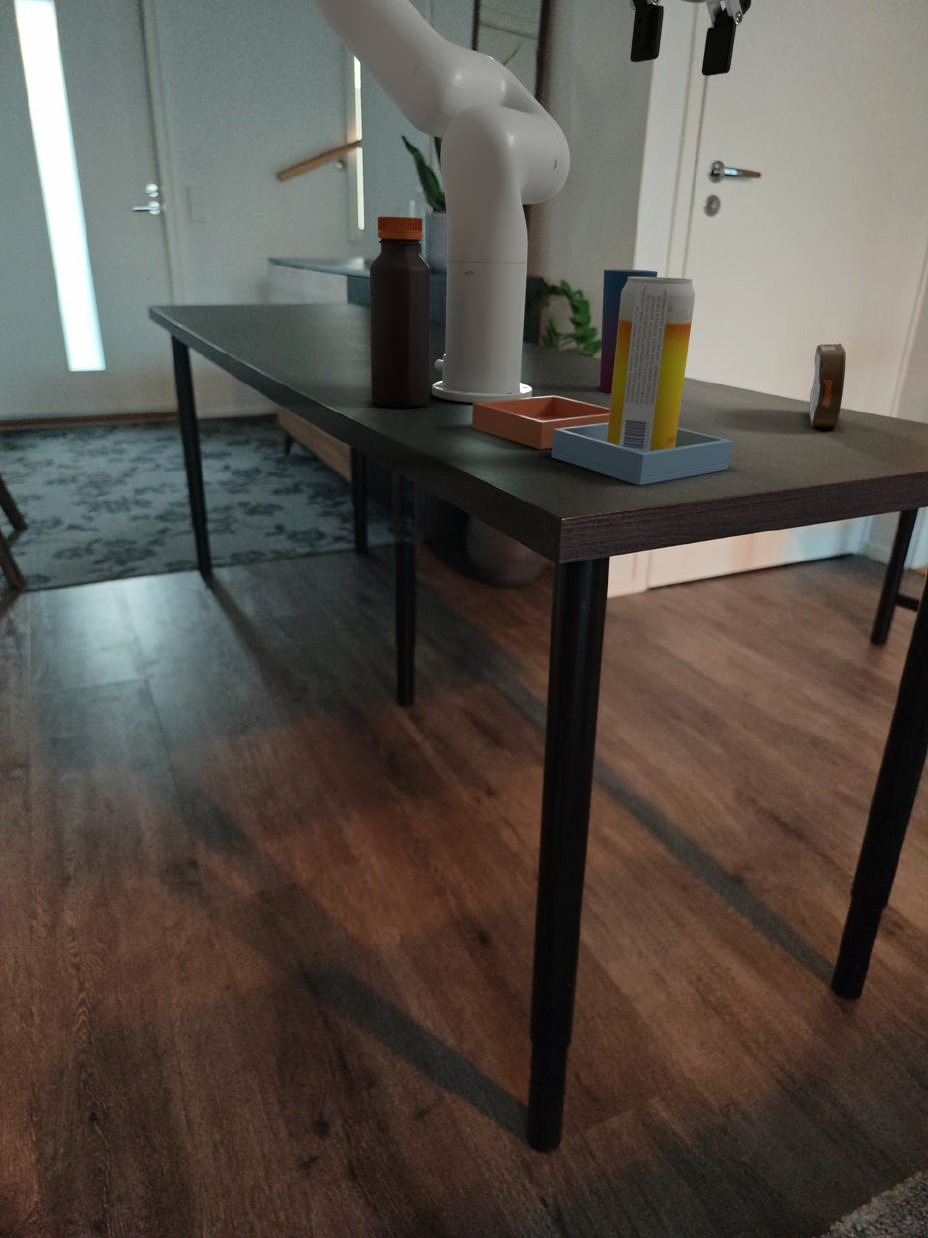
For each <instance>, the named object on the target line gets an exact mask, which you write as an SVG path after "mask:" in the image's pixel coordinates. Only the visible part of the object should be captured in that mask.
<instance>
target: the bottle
mask: <svg viewBox="0 0 928 1238" xmlns="http://www.w3.org/2000/svg"><path fill="white" fill-rule="evenodd" d="M423 221H424V220H423V218H422V217H413V216H412V217H409V216H378V217H377V239H380V240H378V241H377V243H378V244H380V253H379V254H378V256H377V257H376V258H375V259H374V260H373V262H371V264H370V266H369V300H370V301H369V313H370V315H369V318H370V323H369V324H370V375H371V376H370V380H371V382H370V385H371V387H370V388H371V390H370V391H371V401H372V403H373V404H374V405H375V406H379V407H385V408H391V409H392V408H393V409H412V408H413V409H414V408H421V407H424V406H426V405H427V404H428V403H429V401H430V356H431V355H430V353H431V352H430V351H431V350H430V349H431V348H430V347H431V279H432V278H431V276H432V275H431V274H432V273H431V272H432V271H431V270H432V269H431V267H430V265H429V264H428V263H427V261H426V260H425V259H424V258H423V256H422V255H421V253H420V247H421V246H420V245H423V242H421V241H420V240H423V237H424V236H423V227H424V225H423V224H424V223H423Z"/></svg>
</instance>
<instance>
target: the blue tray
mask: <svg viewBox="0 0 928 1238" xmlns="http://www.w3.org/2000/svg"><path fill="white" fill-rule="evenodd" d="M607 432H608V422H607V423H599V424H591V425H582V426H574V427H566V428H558V429H554V430H553V442H552V448H551V456H550V457H551V458H553V459H556V460H560V461H563V462H566V463H569V464H572V465H575V466H578V467H581V468H584V469H587V470H590V471H594V472H595V473H599V474H603V475H606V476H608V477H611V478H615V479H619V480H620V481H625V482H627V483H631V484H634V485H637V486H644V485H648V484H649V485H650V484H655V483H659V482H660V483H661V482H666V481H672V480H677V479H683V478H689V477H694V476H699V475H704V474H705V475H706V474H709V473H715V472H716V473H717V472H721V471H727V470H729V464H730V463H729V462H730V457H731V451H732V444H733V441H732V440H731V439H726V438H723V437H719V436H714V435H711V434H706V433H702V432H698V431H694V430H690V429H685V428H681V427H678V429H677V436H676V444H675V448H669V449H662V450H655V451H649V452H640V451H636V450H633V449H629V448H625V447H622V446H618V445H615V444H611V443H608V442H607Z"/></svg>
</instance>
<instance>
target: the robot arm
mask: <svg viewBox="0 0 928 1238" xmlns="http://www.w3.org/2000/svg"><path fill="white" fill-rule="evenodd" d="M313 1H314V3H315V5H316V7H317V9H318V11H319V13H320V15H321V16H322V18H323V20H324V21H325V23H326V24H327V25H328V27H329V29H330V30H331V31H332V32H333V34H334V35H335V36H336V37H337V38H338V39H339V42H341V44H343V46H345V48H346V49H347V50H348V51H349V53H351V54H352V55H353V57H354V58H355V59H357V61H358V62H359V63H360V64H361V65H362V67H363V68H364V69H365V70H366V71H367V72H368V74H369V76H371V78H372V79H373V80H374V82H375V83H376V84H377V85H378V86H379V87H380V89H381V90H382V91H383V92H384V93H385V95H386V96H387V97H388V98H389V99H390V100H391V102H392V103H393V104H394V105H395V106H396V107H397V109H398V110H399V111H400V113H402V115H403V116H404V117H405V118H406V120H407V121H408V122H409V123H410V124H411V125H412V126H413V127H414V128H415V129H417V130H418V131H419V132H421V133H423V134H426V135H428V136H431V137H435V138H440V139H442V141H441V146H440V158H439V159H440V173H441V181H442V187H443V192H444V193H443V194H444V203H445V210H446V211H445V213H446V291H445V292H446V295H445V297H446V299H445V341H444V343H445V345H444V346H445V347H444V348H445V349H444V354H442V359H436V360H435V362H434V368H435V370H437V371H440V372H442V375H441V376H442V377H441V378H442V380H440V381H437V382H435V383H433V384H432V386H431V394H432V395H433V396H434V397H436V398H439V399H442V400H448V401H452V402H459V403H468V404H473V403H479V402H489V401H500V400H510V399H521V398H532V397H533V388H532V386H529V385H528V384H525V383H521V381H522V380H521V379H522V378H521V377H522V360H523V345H524V343H523V340H524V325H525V323H524V322H525V308H526V307H525V306H526V289H527V274H528V273H527V272H528V247H529V246H528V245H529V244H528V243H529V241H528V228H527V222H526V221H527V220H526V216H525V211H524V207H523V205H536V204H537V205H538V204H541V203H544V202H546V201H548V200H550V199H552V198H554V196H556V195H557V194H558V193H559V192H560V191H561V189H562V188H563V187H564V185H565V183H566V181H567V179H568V175H569V171H570V166H571V154H570V148H569V147H570V146H569V144H568V141H567V138H566V135H565V133H564V132H563V130H562V128H561V127H560V125H559V124H558V122H557V121H556V120H555V119H554V118H553V117H552V115H551V114H550V113H549V112H548V111H547V110H546V109H545V108H544V106H543V105H541V104H540V102H539V101H538V100H537V99H536V98H535V97H534V96H533V94H532V93H531V92H530V91H529V90H528V89H527V88H526V87H525V86H524V85H523V84H522V83H521V81H520V80H519V79H518V78H517V77H516V76H515V75H514V74H513V72H511V71H510V69H508V68H507V67H506V66H505V65H503V64H502V63H501V62H500V61H499V60H497V59H495V58H494V57H492V56H490V55H487V54H485V53H482V52H481V51H480V52H479V51H476V50H474V49H470V48H467V47H464V46H461V45H460V44H459V45H458V44H456V43H454V42H452V41H449V40H447V39H445V38H444V37H443V36H442V35H440V33H439V32H438V31H436V29H435V28H433V27H432V26H431V24H429V22H428V21H426V19H425V18H424V17H423V15H422V14H421V13H420V12H419V11H418V9H417V8H416V7H415V6H414V5H413V4H412V3H411V2H410V0H313ZM661 1H662V0H629V7H630V8H631V10H632V11H634V18H633V28H632V36H631V37H632V38H631V49H630V58H629V59H630V62H632V63H641V62H647V61H648V62H649V61H653V60H656V59H657V58H659V56H660V49H661V41H662V33H663V24H664V17H665V15H664V14H665V10H664V9H665V6H664V5H659V3H660V2H661ZM680 1H682V2H686V3H689V4H690V3H691V4H697V5H698V4H703V3H705V5H706V8H707V11H708V14H709V18H710V20H711V23H712V27H711V26H710V27H707V30H706V34H705V41H704V49H703V50H704V51H703V58H702V63H701V64H702V65H701V74H702V76H706V77H711V76H717V75H725V74H728V73H730V71H731V67H732V60H733V53H734V45H735V38H736V32H737V26H739V25H741V24H742V22H743V18H744V15H746V13H747V12H748V11H749V9H750V8H751V6H752V0H680ZM722 2H723V3H724V5H725V7H724V8H723V7H722V4H721V3H722Z"/></svg>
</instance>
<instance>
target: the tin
mask: <svg viewBox="0 0 928 1238" xmlns="http://www.w3.org/2000/svg"><path fill="white" fill-rule="evenodd" d="M846 359H847V355H846V350H845V347H844V346H843V345H842V343H841V342H839V343H838V344H837V343H836V344H835V343H834V344H829V343H828V344H826V343H825V344H819V345H817V346H816V350H815V355H814V376H813V382H812V386H811V389H810V394H809V395H810V397H809V408H808V409H809V410H808V412H809V421H810V425H811V427H813V428H818V429H819V428H820V429H833V430H836V429H837V428H838V424H839V420H840V419H839V418H840V414H841V408H842V401H843V394H844V386H845V377H846V376H845V375H846Z"/></svg>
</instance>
